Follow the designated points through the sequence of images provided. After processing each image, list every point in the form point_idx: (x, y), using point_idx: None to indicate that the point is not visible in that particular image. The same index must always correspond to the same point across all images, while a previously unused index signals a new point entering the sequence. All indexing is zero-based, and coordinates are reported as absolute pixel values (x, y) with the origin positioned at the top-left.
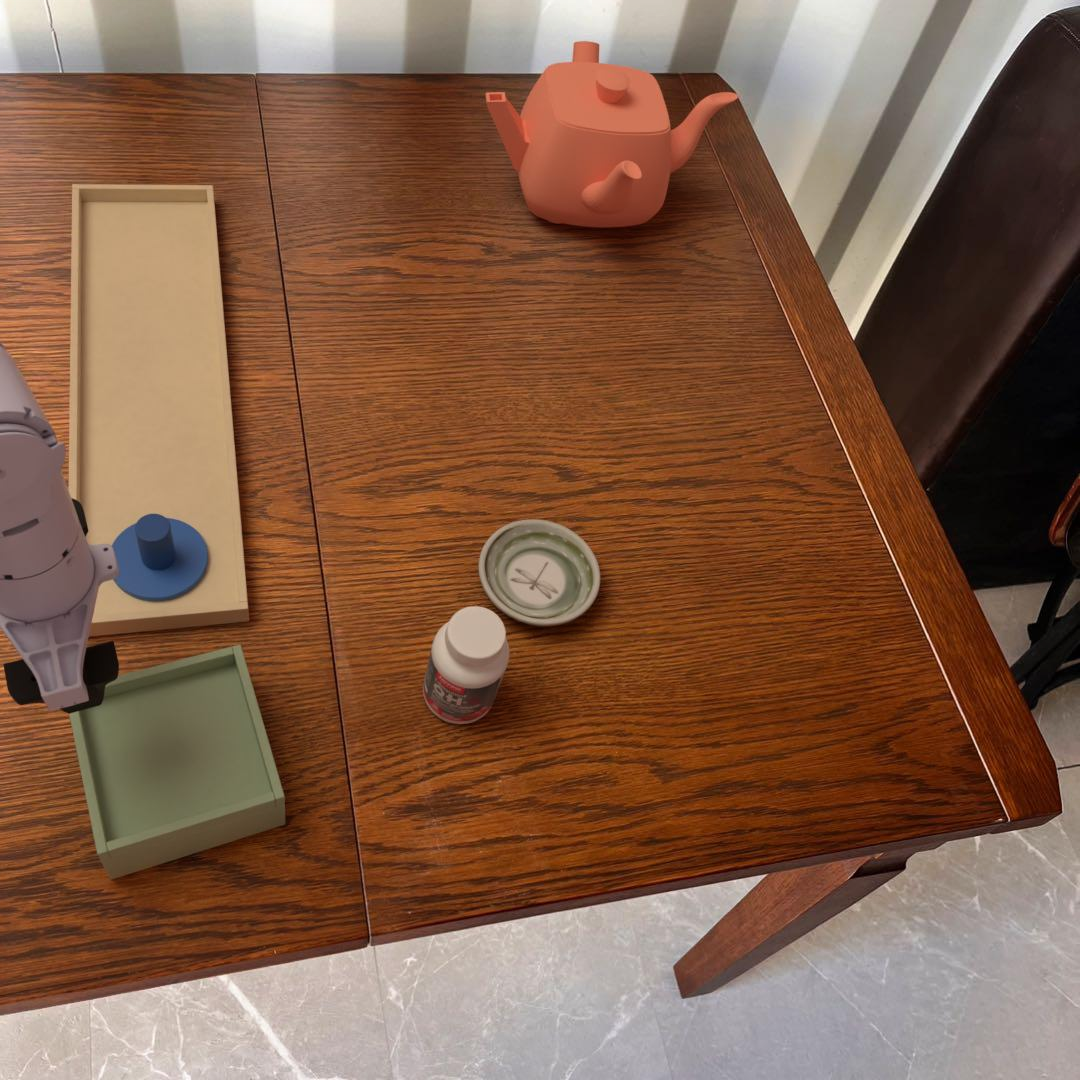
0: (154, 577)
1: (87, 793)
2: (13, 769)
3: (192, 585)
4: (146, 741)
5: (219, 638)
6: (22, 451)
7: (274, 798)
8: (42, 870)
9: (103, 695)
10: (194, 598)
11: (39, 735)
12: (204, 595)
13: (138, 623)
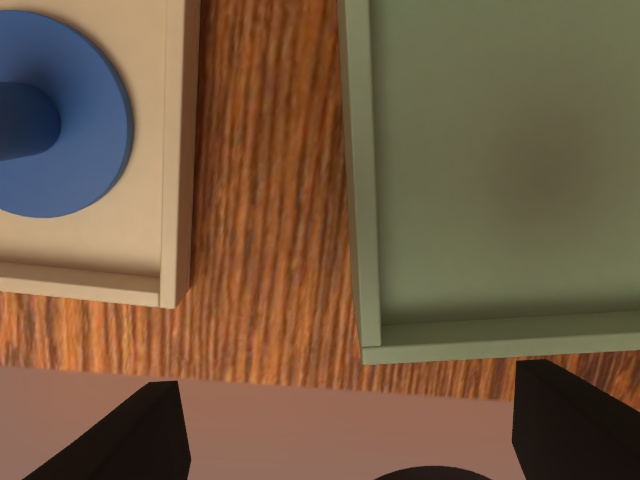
0: (78, 135)
1: (614, 348)
2: (404, 388)
3: (104, 59)
4: (499, 212)
5: (232, 25)
6: None
7: None
8: (577, 364)
9: (587, 383)
10: (134, 61)
11: (358, 350)
12: (129, 38)
13: (185, 181)
